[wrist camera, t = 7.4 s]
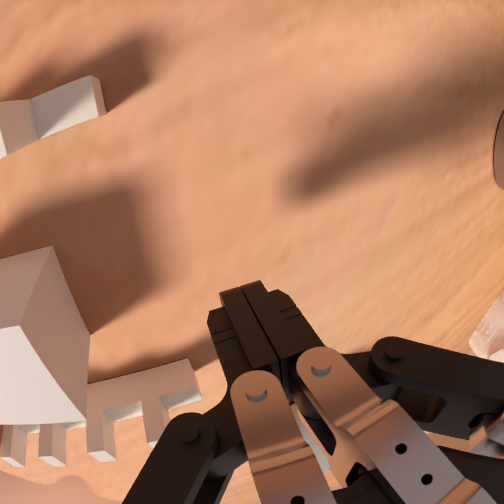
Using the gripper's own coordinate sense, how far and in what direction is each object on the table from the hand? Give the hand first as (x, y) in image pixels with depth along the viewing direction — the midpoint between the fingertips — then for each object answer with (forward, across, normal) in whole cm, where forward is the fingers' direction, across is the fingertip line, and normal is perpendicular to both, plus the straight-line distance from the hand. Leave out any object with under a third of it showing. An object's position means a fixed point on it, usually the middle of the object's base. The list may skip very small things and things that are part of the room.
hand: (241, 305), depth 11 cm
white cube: (+6, +11, 0) cm, 12 cm away
